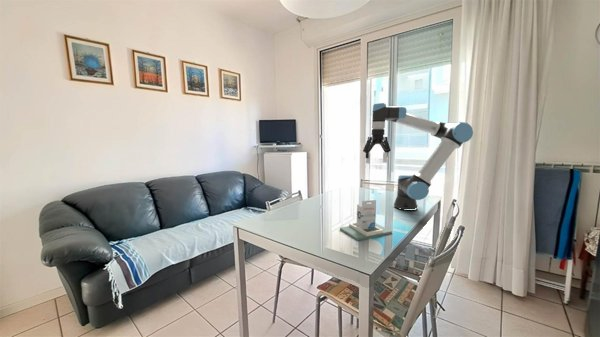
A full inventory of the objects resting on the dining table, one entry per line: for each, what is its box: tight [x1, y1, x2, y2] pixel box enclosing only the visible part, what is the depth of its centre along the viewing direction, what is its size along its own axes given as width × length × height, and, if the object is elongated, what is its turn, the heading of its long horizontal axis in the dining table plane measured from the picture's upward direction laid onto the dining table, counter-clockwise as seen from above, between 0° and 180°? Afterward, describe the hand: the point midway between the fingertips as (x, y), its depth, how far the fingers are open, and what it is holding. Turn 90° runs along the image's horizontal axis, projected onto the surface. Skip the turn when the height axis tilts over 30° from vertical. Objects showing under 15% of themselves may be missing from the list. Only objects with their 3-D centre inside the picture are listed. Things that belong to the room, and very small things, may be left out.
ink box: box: [356, 199, 377, 229], centre depth 128 cm, size 8×5×15 cm, turn 106°
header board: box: [339, 221, 393, 242], centre depth 129 cm, size 22×15×3 cm
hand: (376, 163), depth 155 cm, fingers open, 13 cm apart
